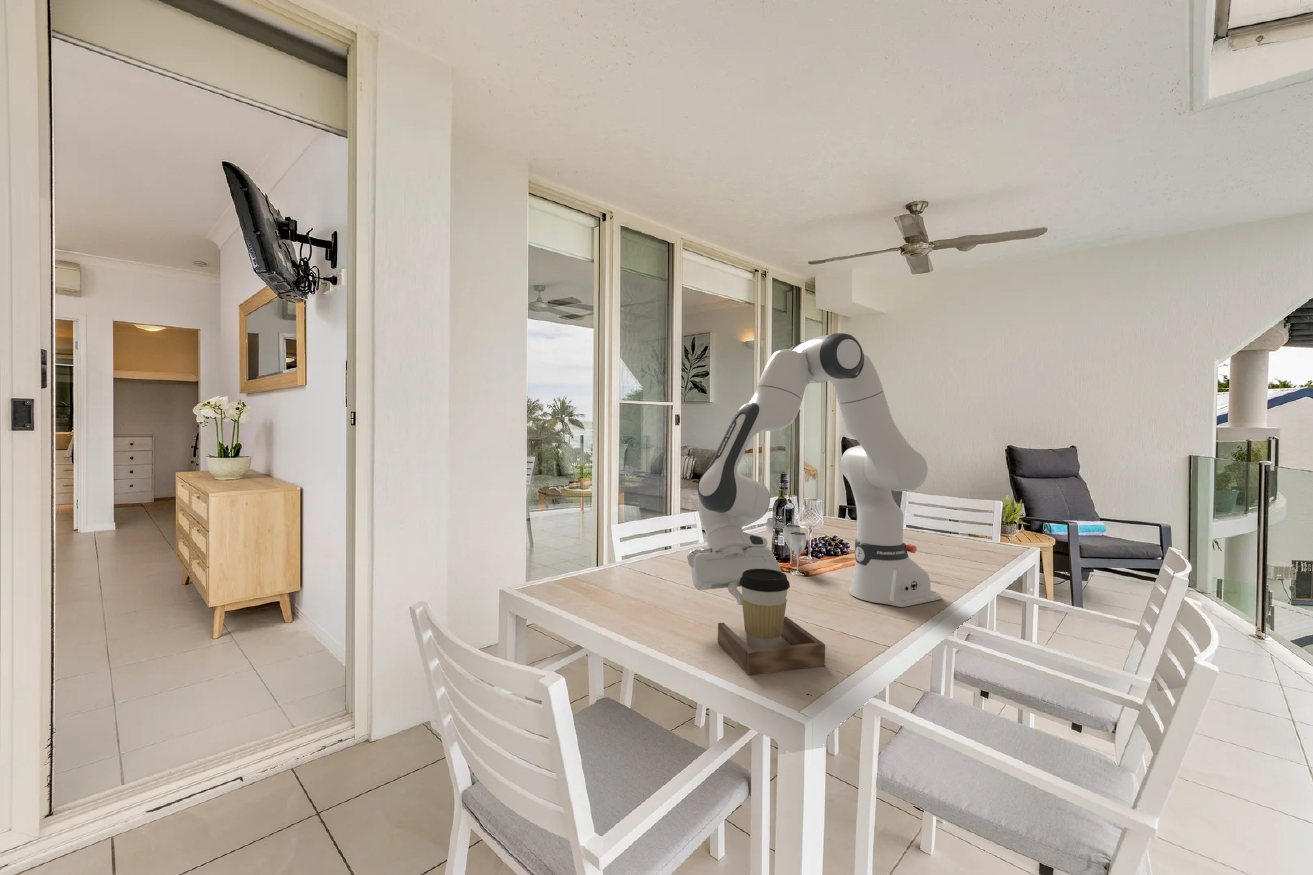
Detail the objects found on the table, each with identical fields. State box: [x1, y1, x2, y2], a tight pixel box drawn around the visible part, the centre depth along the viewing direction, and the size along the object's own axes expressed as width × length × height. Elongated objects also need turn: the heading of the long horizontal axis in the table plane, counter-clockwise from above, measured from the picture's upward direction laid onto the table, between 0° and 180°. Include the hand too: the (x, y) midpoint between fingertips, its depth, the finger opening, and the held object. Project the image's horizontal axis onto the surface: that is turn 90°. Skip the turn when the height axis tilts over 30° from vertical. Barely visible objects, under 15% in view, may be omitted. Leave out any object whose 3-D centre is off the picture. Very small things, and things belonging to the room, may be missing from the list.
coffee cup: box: [739, 569, 791, 650], centre depth 109 cm, size 10×10×15 cm
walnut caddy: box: [717, 616, 826, 676], centre depth 107 cm, size 15×15×4 cm
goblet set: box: [765, 517, 807, 576], centre depth 174 cm, size 28×6×13 cm, turn 5°
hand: (745, 603), depth 118 cm, fingers closed
